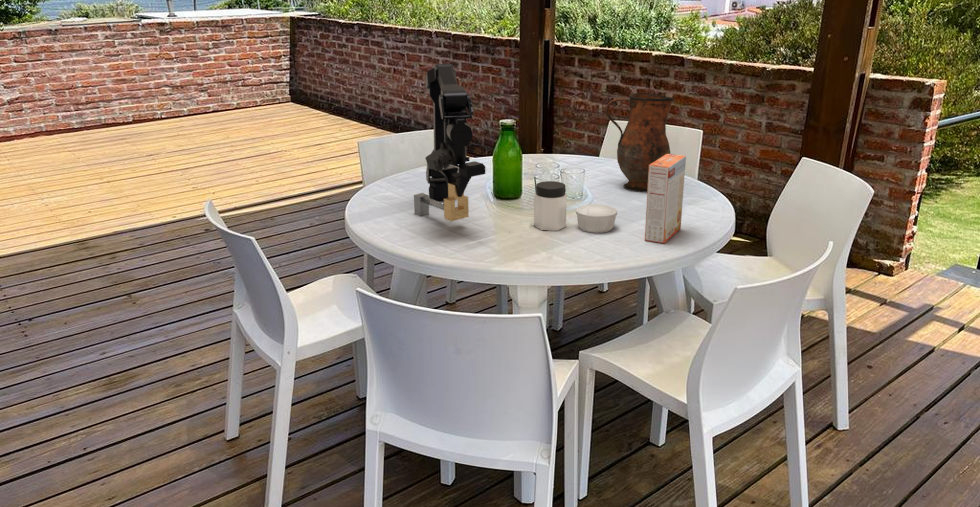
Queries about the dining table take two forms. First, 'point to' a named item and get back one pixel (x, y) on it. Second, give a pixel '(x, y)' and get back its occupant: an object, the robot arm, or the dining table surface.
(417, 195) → the hook post
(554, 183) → the jar
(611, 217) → the ramekin
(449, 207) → the stirrup
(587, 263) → the dining table surface
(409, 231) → the dining table surface
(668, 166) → the cracker box
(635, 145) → the pitcher
